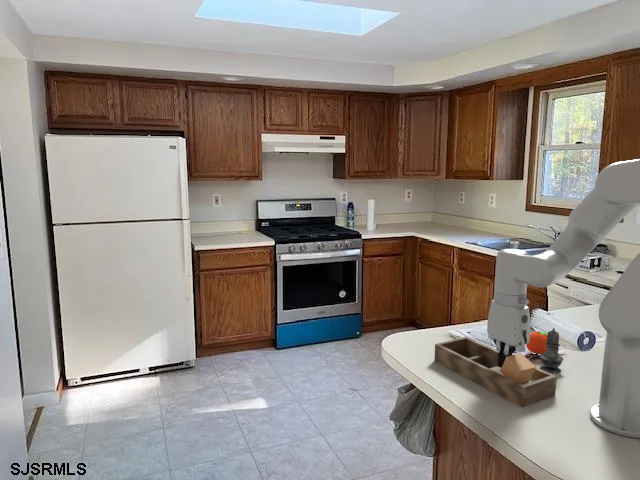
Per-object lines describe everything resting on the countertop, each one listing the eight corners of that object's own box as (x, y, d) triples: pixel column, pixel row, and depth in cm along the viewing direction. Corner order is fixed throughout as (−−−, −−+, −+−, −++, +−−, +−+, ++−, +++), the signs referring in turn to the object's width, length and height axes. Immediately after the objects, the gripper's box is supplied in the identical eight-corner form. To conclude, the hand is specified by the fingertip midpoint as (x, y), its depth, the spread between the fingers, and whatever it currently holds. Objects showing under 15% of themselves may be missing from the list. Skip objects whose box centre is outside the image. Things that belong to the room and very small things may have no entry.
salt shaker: (565, 375, 128) (568, 332, 126) (541, 373, 129) (545, 331, 127) (558, 365, 133) (562, 325, 131) (536, 364, 134) (539, 323, 132)
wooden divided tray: (555, 395, 117) (556, 376, 116) (522, 407, 111) (523, 387, 110) (465, 352, 143) (465, 336, 142) (434, 360, 137) (435, 344, 136)
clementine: (551, 351, 143) (553, 328, 142) (556, 360, 137) (558, 337, 135) (523, 349, 145) (524, 326, 144) (527, 358, 138) (528, 335, 137)
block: (528, 381, 118) (535, 367, 116) (513, 385, 116) (520, 370, 114) (514, 368, 122) (521, 353, 120) (500, 371, 120) (506, 356, 118)
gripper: (545, 304, 114) (539, 375, 117) (496, 289, 127) (491, 353, 130) (524, 309, 111) (518, 382, 114) (476, 292, 124) (471, 358, 127)
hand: (504, 366), depth 122 cm, fingers closed
